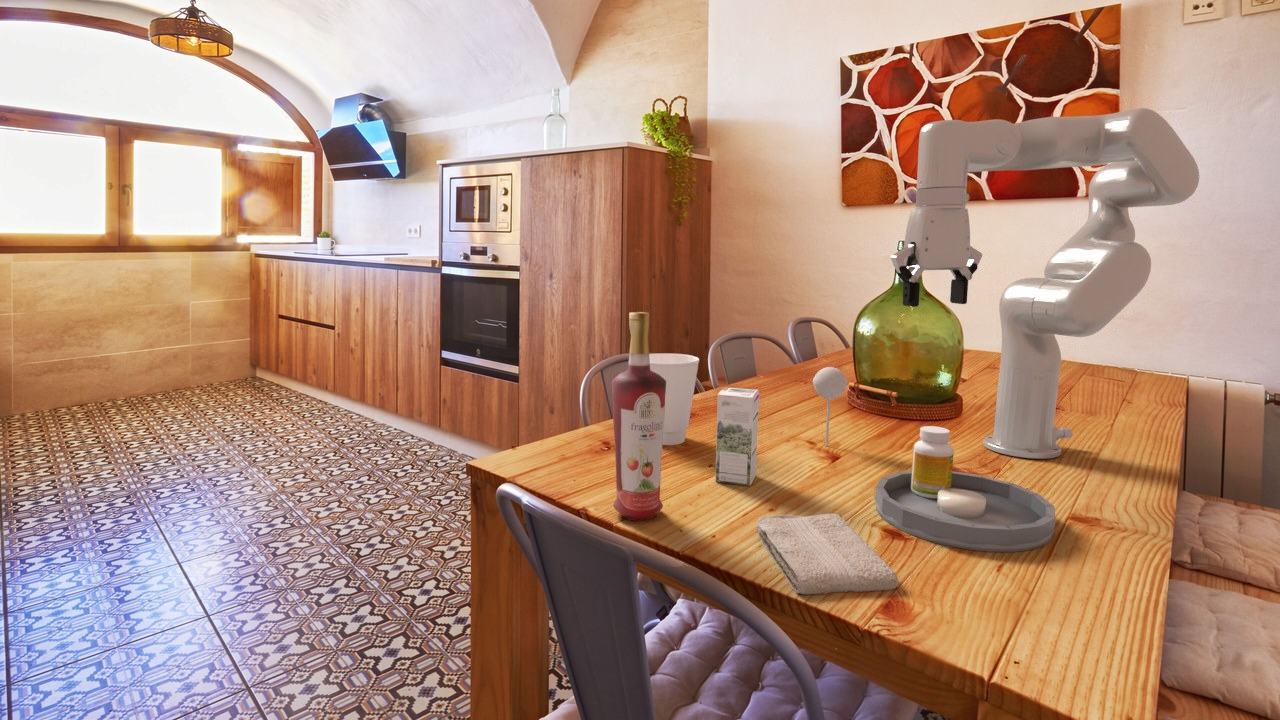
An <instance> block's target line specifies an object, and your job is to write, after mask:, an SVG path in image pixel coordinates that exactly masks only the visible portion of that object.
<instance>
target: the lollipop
mask: <svg viewBox="0 0 1280 720" xmlns="http://www.w3.org/2000/svg"><path fill="white" fill-rule="evenodd" d="M812 379H813V380H812V384H813V387H814V390H815V391H816V393H817V394H818V395H819V397H822V398H824V399H827V408H826V412H827V413H826V427H825V429H826V430H825V442H824V444H825V445H824V446H825V447H828V445H829V428H830V414H831V411H830V410H831V400H833V399H836V398H838V397H840V396H842V395H843V394H844V392H845V391H846V388H847V386H848V380H847V378H846V375H845V374H844V372H843V371H841V370H840V369H838V368H837V367H832V366H827V367H824V368H822V369H820V370H818V371H817V372H816V373H815V375H814V377H813V378H812Z"/></svg>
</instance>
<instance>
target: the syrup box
mask: <svg viewBox="0 0 1280 720" xmlns="http://www.w3.org/2000/svg"><path fill="white" fill-rule="evenodd" d="M716 403H717V408H716V409H717V411H716V412H717V413H716V416H717V417H716V445H715V446H716V447H715V454H716V455H715V482H716V483H721V484H722V483H723V484H731V485H738V486H747V487H750V486H751V485H752V483H753V482H754V479H755V478H756V475H757V451H758V450H757V449H758V432H759V431H758V430H759V429H758V428H759V426H758V425H759V405H760V404H759V403H760V390H759V389H752V388H751V389H749V388H737V387H724V388H722V389H720V391H719V392H718V394H717V402H716Z"/></svg>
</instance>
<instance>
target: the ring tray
mask: <svg viewBox="0 0 1280 720" xmlns="http://www.w3.org/2000/svg"><path fill="white" fill-rule="evenodd" d="M911 477H912V470H906V471H896V472H894V473H892V474H888V475H886V476H882V477H881V478H880V480H879V481H878V482H877V484H876V485H875V491H874V492H875V493H874V501H875V509H876V512H877V513H878V515H879V516H880V518H882V519H883V520H884V521H885V522H886V523H888V524H889V525H891V526H892V527H894V528H896V529H898V530H900V531H902V532H903V533H904V532H905V533H906V534H909V535H911V536H913V537H916V538H919V539H922V540H924V541H927V542H930V543H931V542H932V543H936V544H939V545H943V546H947V547H952V548H957V549H962V550H967V551H969V550H970V551H978V552H988V553H1016V552H1026V551H1031V550H1035V549H1039V548H1041V547H1043V546H1045V545H1047V544H1048V543H1050V542H1051V540H1052V538H1053V534H1054V533H1055V526H1056V517H1057V516H1056V507H1055V505H1053V504H1052V503H1051V502H1050V501H1048V500H1047V499H1046V498H1045V497H1043V496H1042V495H1041V494H1038V493H1037V492H1034V491H1032V490H1029V489H1027V488H1025V487H1023V486H1020V485H1017V484H1016V483H1011V482H1008V481H1004V480H1002V479H1001V480H1000V479H997V478H994V477H993V478H992V477H989V476H985V475H980V474H973V473H967V472H960V471H954V470H952V479H951V489H942V490H940V491H939V492H938V499H932V498H925V497H922V496H919V495H917V494H915V493H913V492H912V490H911Z"/></svg>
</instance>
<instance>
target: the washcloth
mask: <svg viewBox="0 0 1280 720" xmlns="http://www.w3.org/2000/svg"><path fill="white" fill-rule="evenodd" d="M755 526H756V527H755V528H756V531H757V533H758V537H759V538H760V540H761V544H762V545H763V547H764V549H765V550H766V551H767V553H768V554H769V556H770V558H771V559H772V561H774V564H775V565H776V566H777V568H778V569H779V570H780V572H781V573H782V575H783V576H784V578H785V579H786V581H787V583H788V584H789V586H790V587H791V589H792V590H793V591H794V592H795V593H796V594H800V595H806V596H808V595H820V594H821V595H822V594H824V595H825V594H826V595H827V594H830V593H837V592H839V593H842V592H854V593H858V592H860V593H861V592H862V593H863V592H864V593H865V592H871V591H872V592H875V591H876V592H879V591H891V590H895V589H897V588H899V587H900V586H899V581H898V576H897V575H896V571H894V570H893V569H892V568H891V567H890V565H888V563H887V562H886V561H885V560H884V559H883V558H881V557H880V555H878V553H877V552H876V551H875V550H874V549H873V548H872V547H871V546H870V545H869V543H868V542H867V541H866V540H864V539H863V537H862V536H860V534H859V533H857V532H856V531H855V530H854V529H853V528H852V527H851V526H850V525H849V524H848V522H847V521H846V520H845V519H844V518H843V517H842V516H841V515H839V514H837V513H822V514H816V515H809V516H801V515H800V516H799V515H792V514H780V515H779V514H778V515H777V514H776V515H768V516H765V515H763V516H760V517H759V518H758V520H757V524H756V525H755Z"/></svg>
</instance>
